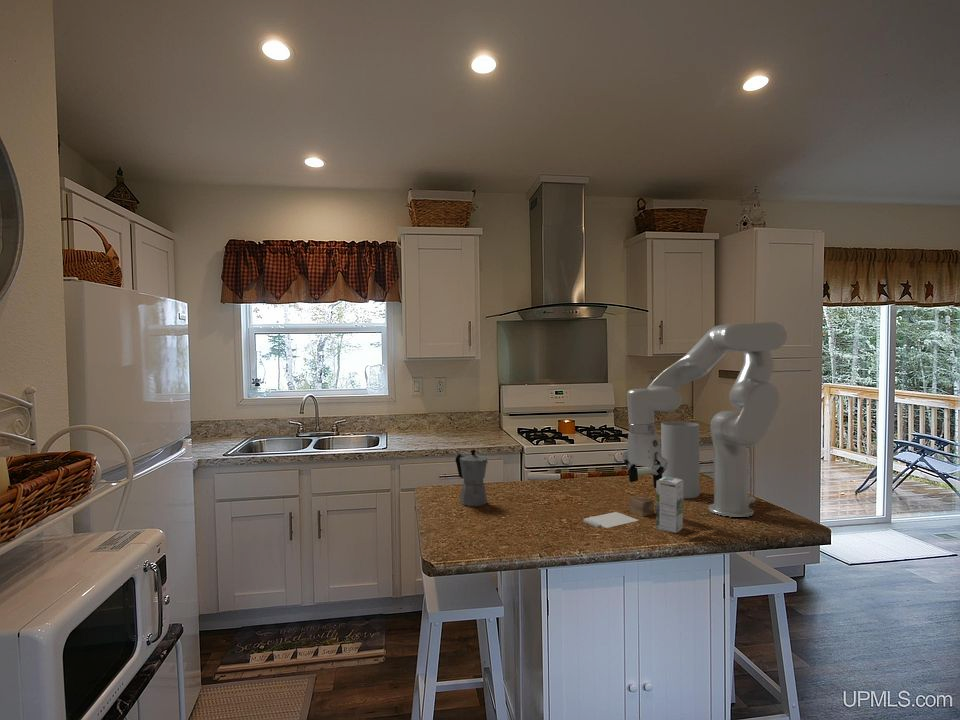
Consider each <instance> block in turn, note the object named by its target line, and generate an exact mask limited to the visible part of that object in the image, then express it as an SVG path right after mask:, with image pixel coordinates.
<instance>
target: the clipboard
mask: <svg viewBox="0 0 960 720" xmlns="http://www.w3.org/2000/svg"><path fill="white" fill-rule="evenodd" d="M638 521H640V519H637V518H634V517H631V516H628V515H626V514H624V513H620V512H618V511H614V512H609V513H605V514H599V515H596V516H590V517H586V518H583V520H582V522H584V523H586V524H588V525H591V526H594V527H595V528H599V527H600V528H601V527H603V528H606V529H608V528H612V527H617V526H622V525H626V524H630V523H631V524H632V523H634V522H635V523H636V522H638Z"/></svg>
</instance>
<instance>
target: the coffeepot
mask: <svg viewBox="0 0 960 720" xmlns="http://www.w3.org/2000/svg"><path fill="white" fill-rule="evenodd" d="M476 451H477V450H476V449H474V448H473V449H471V450H470V453H471V454H470V455H469V454H468V455H467V454H462V453H458V454H457V456H455V464H456V468H457V472H458V477H459V478H461V479H463V483H462V487H461V492H460V493H461V494H460V500H459V503H460V504H461V503H462V504H463V505H462V504H461V505H462V506H465V505H467V506H466V507H481V506H484V505H486V504H487V503H488V498H487V492H486V486H485V483H484V479H485V477H486V470H487V464H488V462H489V461H488V457H485V456H482V455H478V454H476Z"/></svg>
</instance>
